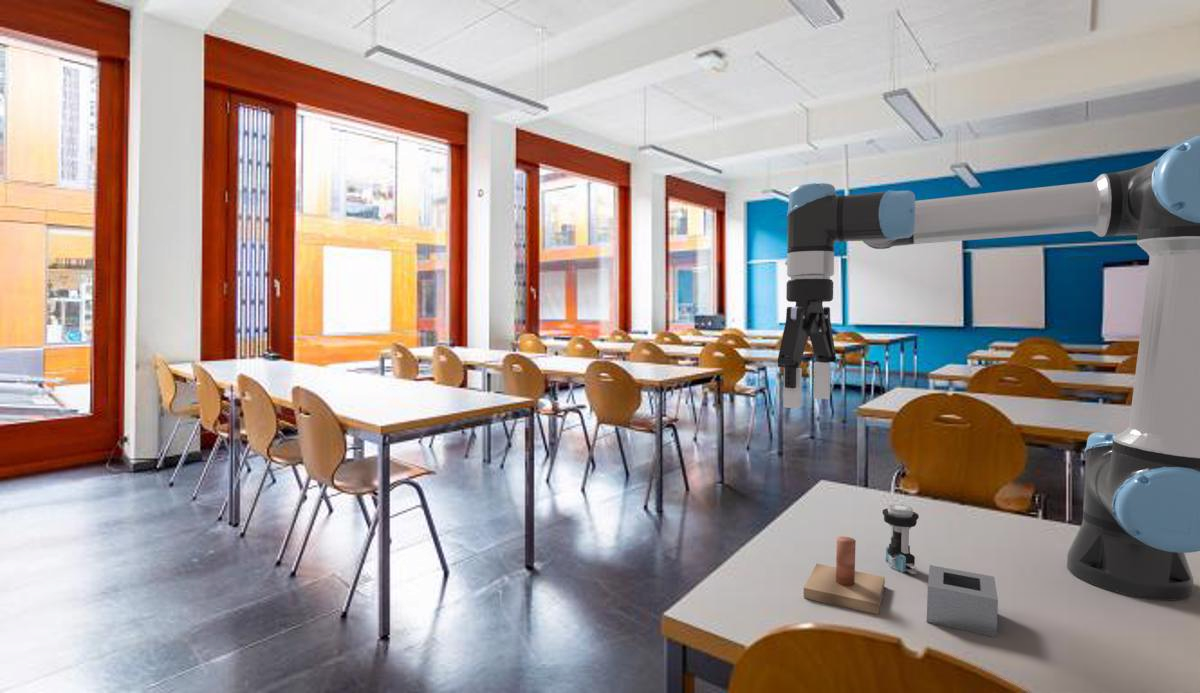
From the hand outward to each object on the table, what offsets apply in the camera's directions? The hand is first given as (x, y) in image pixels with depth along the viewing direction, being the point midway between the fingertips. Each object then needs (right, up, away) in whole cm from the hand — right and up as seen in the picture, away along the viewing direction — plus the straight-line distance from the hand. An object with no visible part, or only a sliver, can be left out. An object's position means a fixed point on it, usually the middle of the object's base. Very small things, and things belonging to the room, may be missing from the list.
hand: (807, 403), depth 107 cm
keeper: (+1, -27, -13) cm, 30 cm away
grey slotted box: (+14, -28, -21) cm, 37 cm away
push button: (+14, -27, -5) cm, 31 cm away
